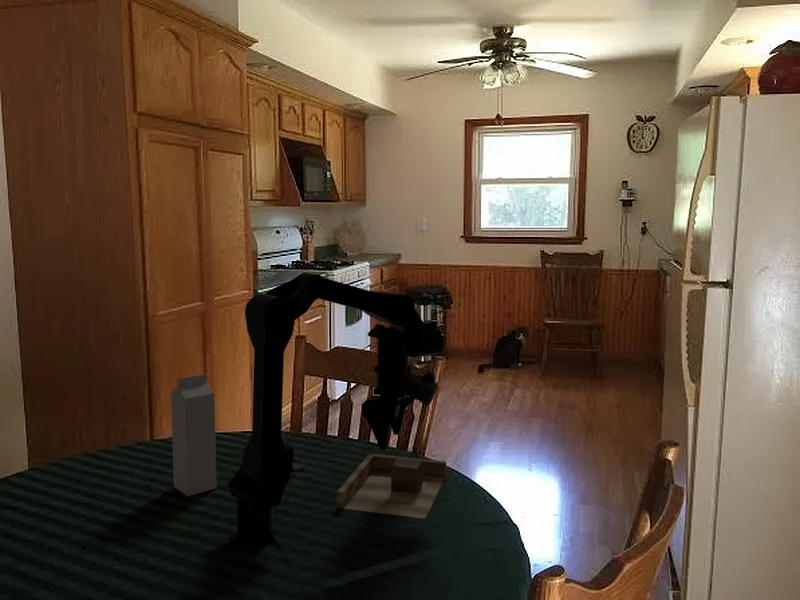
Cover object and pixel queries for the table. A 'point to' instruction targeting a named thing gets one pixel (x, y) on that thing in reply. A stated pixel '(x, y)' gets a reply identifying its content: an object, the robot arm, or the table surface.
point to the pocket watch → (296, 463)
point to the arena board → (389, 488)
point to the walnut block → (407, 475)
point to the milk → (193, 435)
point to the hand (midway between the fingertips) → (390, 441)
